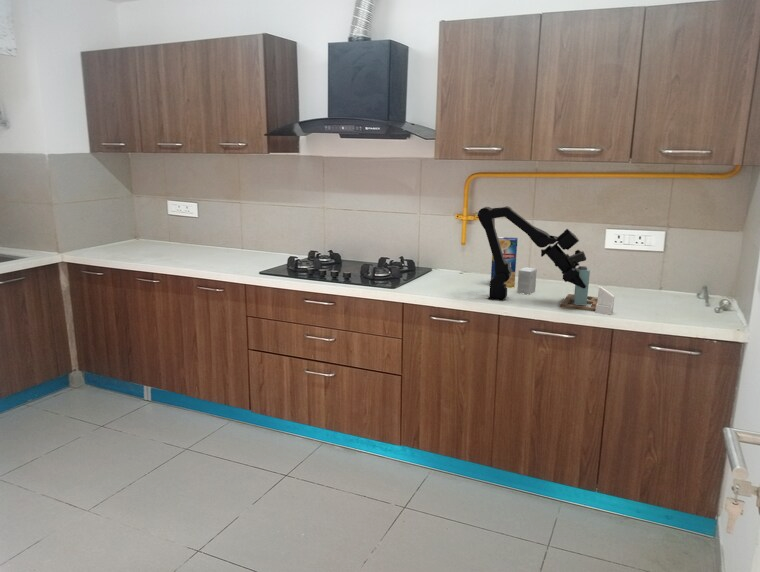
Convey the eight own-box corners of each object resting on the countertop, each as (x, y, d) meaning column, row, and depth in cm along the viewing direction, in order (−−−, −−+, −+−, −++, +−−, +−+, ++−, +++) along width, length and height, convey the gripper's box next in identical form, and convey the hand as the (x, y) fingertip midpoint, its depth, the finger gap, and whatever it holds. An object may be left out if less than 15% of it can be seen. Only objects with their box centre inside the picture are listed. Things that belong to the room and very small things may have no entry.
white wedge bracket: (586, 302, 229) (599, 285, 225) (608, 318, 226) (622, 301, 222) (584, 304, 227) (597, 287, 222) (606, 320, 223) (620, 303, 219)
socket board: (559, 307, 232) (559, 302, 232) (568, 296, 249) (568, 292, 248) (596, 311, 226) (596, 307, 226) (602, 300, 242) (603, 296, 242)
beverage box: (491, 282, 273) (493, 236, 268) (514, 284, 271) (517, 237, 266) (490, 286, 267) (492, 239, 262) (514, 287, 264) (517, 240, 259)
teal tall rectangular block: (574, 304, 232) (578, 267, 228) (573, 301, 236) (577, 265, 233) (586, 305, 231) (590, 268, 228) (585, 302, 236) (588, 266, 232)
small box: (523, 289, 261) (524, 266, 258) (535, 291, 258) (537, 268, 255) (516, 293, 254) (518, 269, 252) (529, 295, 251) (530, 271, 249)
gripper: (574, 248, 221) (602, 278, 220) (575, 241, 238) (601, 269, 237) (551, 266, 225) (578, 296, 224) (554, 258, 243) (579, 286, 241)
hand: (585, 286), depth 232 cm, fingers closed on teal tall rectangular block, 5 cm apart
